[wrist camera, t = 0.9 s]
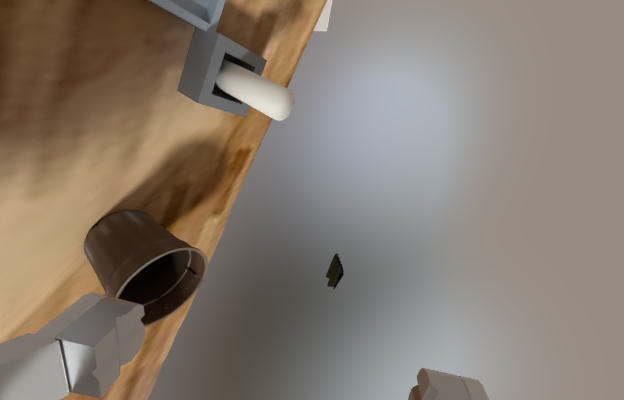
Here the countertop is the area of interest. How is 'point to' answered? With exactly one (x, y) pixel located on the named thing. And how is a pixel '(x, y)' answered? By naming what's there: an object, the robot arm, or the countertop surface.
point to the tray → (194, 11)
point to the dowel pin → (255, 90)
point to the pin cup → (215, 70)
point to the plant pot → (144, 263)
